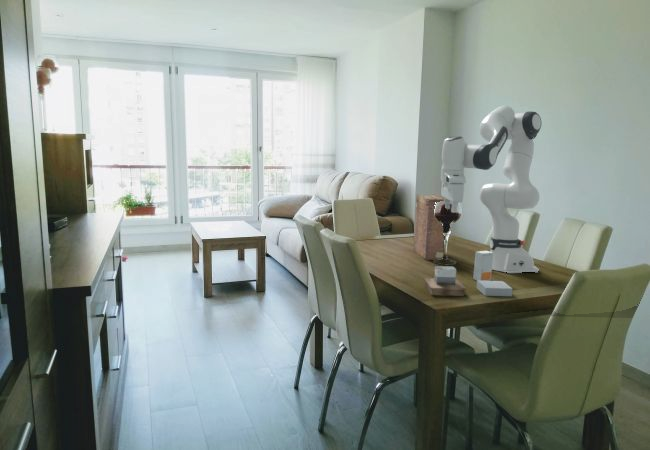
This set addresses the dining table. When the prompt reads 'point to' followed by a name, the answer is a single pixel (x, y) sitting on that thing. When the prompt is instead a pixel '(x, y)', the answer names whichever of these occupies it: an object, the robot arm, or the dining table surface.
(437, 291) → the tan flat square slab
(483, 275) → the skincare box
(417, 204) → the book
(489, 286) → the grey stand
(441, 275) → the block
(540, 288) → the dining table surface
